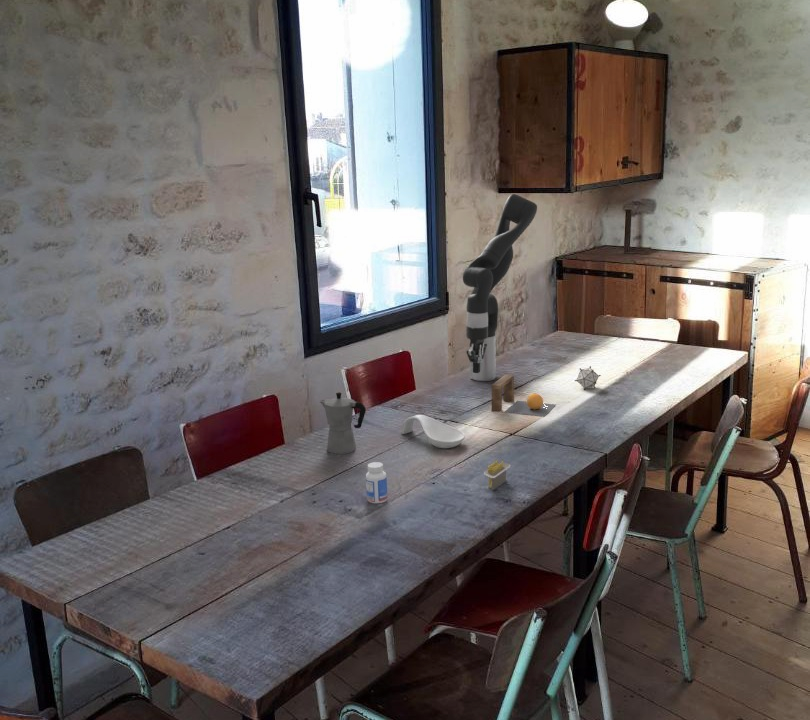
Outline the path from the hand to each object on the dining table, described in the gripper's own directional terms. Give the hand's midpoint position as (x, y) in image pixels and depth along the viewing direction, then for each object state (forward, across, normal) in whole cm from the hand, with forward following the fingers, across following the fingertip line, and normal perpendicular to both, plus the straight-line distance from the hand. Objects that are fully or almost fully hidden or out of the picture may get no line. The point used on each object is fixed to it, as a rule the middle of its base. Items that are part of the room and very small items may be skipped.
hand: (476, 372), depth 300 cm
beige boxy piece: (+11, +66, +35) cm, 76 cm away
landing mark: (+11, -1, +20) cm, 23 cm away
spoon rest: (+11, +42, +3) cm, 43 cm away
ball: (+8, -1, +22) cm, 23 cm away
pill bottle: (+11, +88, +11) cm, 90 cm away
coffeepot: (+12, +60, -18) cm, 63 cm away
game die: (+11, -33, +30) cm, 46 cm away
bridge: (+11, -1, +10) cm, 15 cm away
